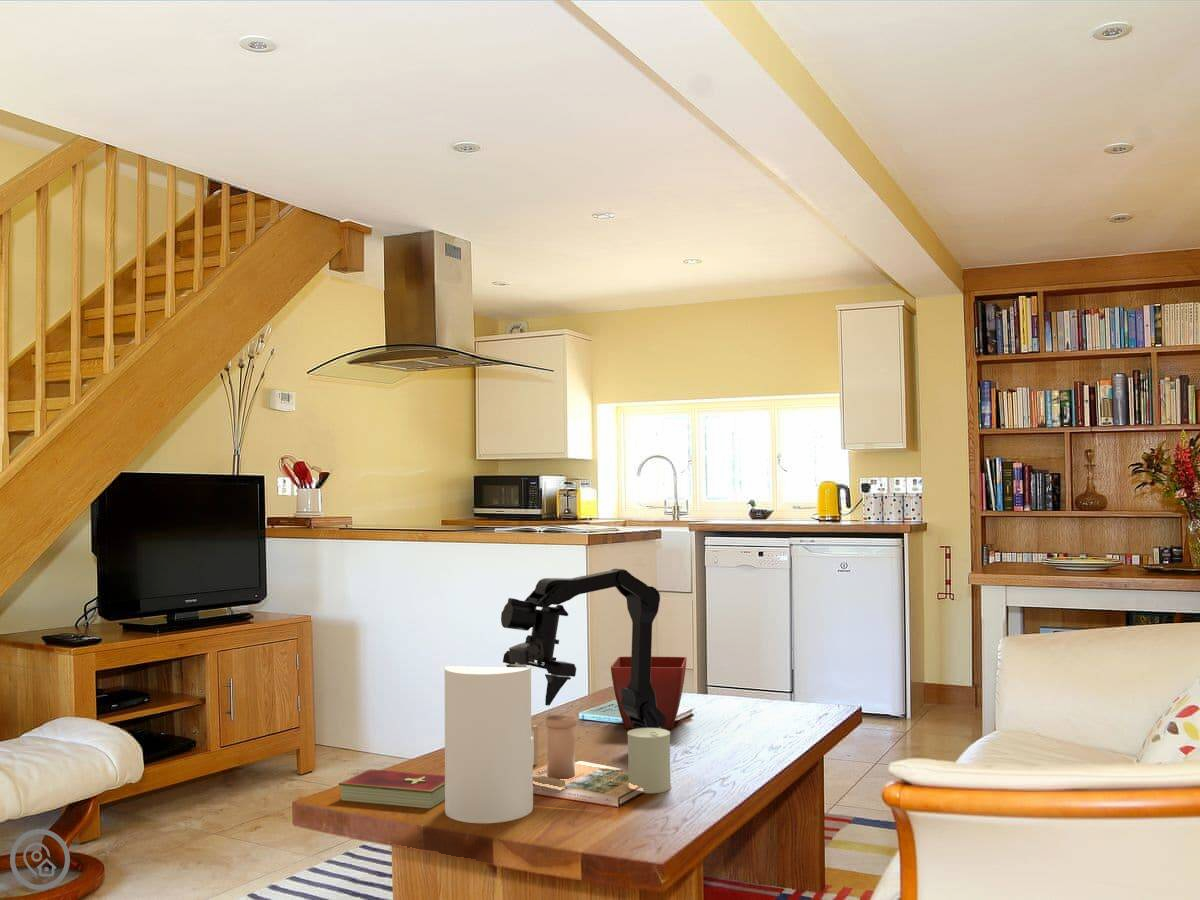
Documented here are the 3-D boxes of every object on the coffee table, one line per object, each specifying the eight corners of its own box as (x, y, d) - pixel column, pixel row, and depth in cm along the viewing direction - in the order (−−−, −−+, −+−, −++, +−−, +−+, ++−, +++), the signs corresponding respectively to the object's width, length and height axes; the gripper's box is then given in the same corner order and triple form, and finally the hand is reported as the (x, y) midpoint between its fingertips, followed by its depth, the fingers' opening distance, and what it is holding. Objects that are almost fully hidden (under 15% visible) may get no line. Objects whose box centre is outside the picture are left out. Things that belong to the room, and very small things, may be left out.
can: (641, 796, 214) (640, 737, 215) (619, 785, 222) (619, 728, 223) (679, 789, 218) (678, 732, 219) (657, 779, 227) (656, 723, 227)
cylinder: (521, 825, 196) (520, 675, 197) (433, 821, 199) (432, 673, 200) (541, 798, 213) (540, 660, 214) (459, 795, 216) (459, 659, 217)
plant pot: (619, 716, 292) (618, 655, 292) (687, 717, 289) (686, 656, 290) (610, 731, 273) (609, 666, 273) (683, 733, 270) (682, 667, 271)
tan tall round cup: (580, 775, 229) (579, 715, 230) (570, 783, 223) (570, 721, 223) (551, 773, 231) (551, 714, 232) (541, 781, 225) (541, 720, 225)
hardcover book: (369, 786, 224) (369, 767, 224) (457, 794, 218) (457, 774, 218) (338, 802, 213) (338, 781, 213) (431, 811, 206) (431, 790, 207)
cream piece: (557, 757, 246) (557, 719, 246) (621, 770, 234) (621, 729, 235) (494, 777, 229) (494, 736, 229) (560, 792, 217) (559, 748, 218)
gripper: (491, 624, 241) (480, 693, 238) (548, 636, 228) (537, 708, 226) (525, 628, 249) (514, 694, 247) (582, 640, 236) (571, 709, 234)
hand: (533, 701), depth 238 cm, fingers open, 9 cm apart
